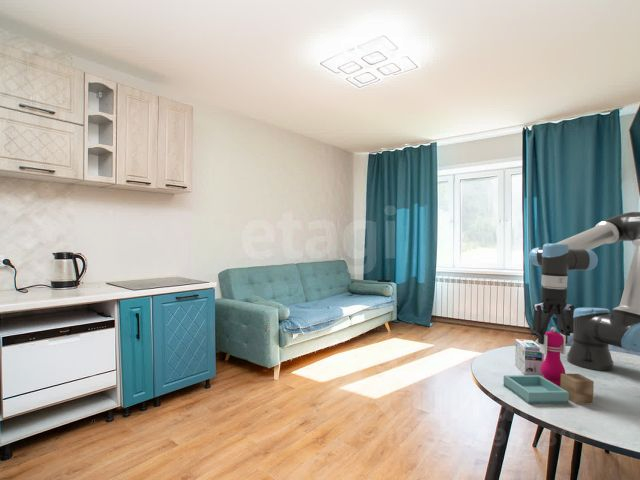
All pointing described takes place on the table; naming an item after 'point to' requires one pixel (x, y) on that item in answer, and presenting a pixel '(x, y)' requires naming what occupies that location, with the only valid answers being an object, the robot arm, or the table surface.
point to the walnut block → (578, 388)
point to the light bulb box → (528, 357)
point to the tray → (536, 389)
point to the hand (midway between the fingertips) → (552, 352)
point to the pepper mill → (553, 358)
